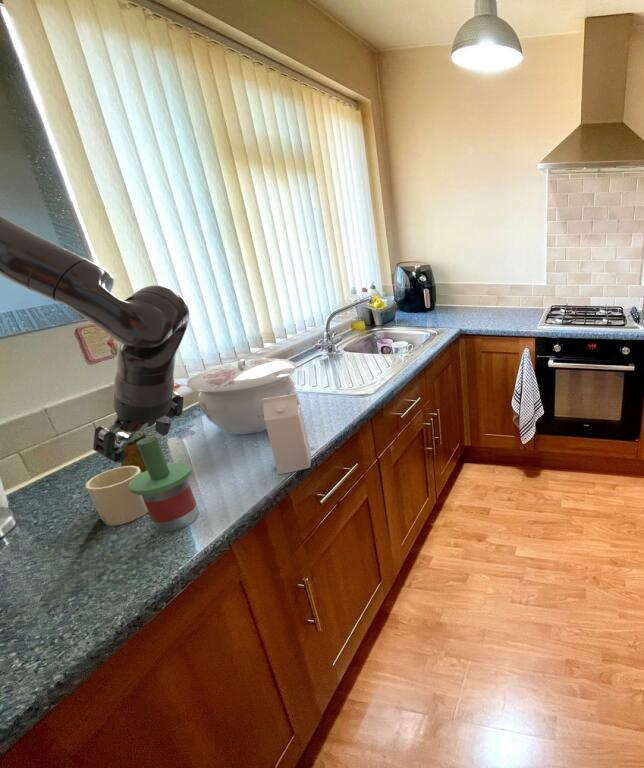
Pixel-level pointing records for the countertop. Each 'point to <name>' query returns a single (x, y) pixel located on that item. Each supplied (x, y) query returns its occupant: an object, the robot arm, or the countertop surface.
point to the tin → (172, 508)
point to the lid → (157, 470)
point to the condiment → (133, 454)
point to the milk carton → (287, 433)
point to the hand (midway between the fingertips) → (140, 445)
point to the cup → (116, 495)
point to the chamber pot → (242, 392)
